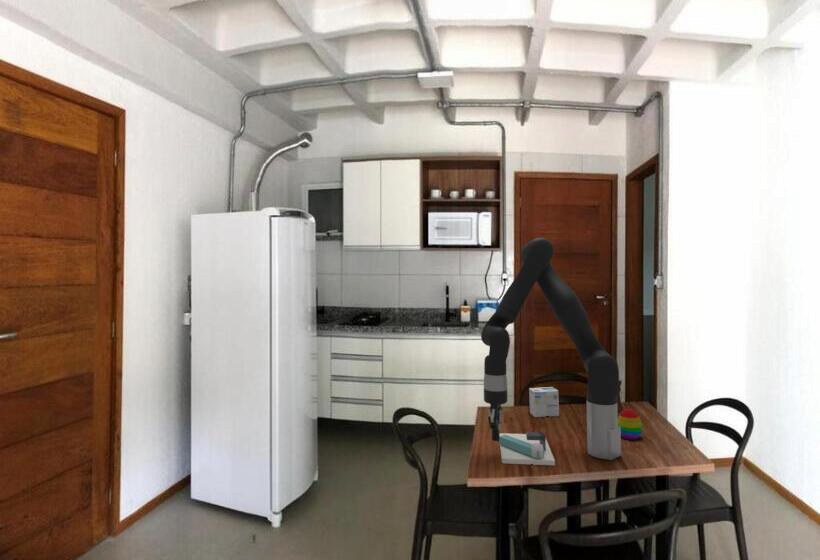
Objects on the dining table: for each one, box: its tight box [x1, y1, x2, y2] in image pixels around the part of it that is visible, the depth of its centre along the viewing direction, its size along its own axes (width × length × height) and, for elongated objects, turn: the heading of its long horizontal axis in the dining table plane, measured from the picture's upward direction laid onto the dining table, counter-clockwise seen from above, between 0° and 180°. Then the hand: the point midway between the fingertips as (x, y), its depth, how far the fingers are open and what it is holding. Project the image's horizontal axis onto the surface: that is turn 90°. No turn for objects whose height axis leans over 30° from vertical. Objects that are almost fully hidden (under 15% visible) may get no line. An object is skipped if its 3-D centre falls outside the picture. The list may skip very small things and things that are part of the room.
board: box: [499, 432, 556, 466], centre depth 147 cm, size 22×16×2 cm
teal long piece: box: [498, 435, 544, 459], centre depth 143 cm, size 16×4×4 cm, turn 36°
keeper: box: [525, 431, 547, 451], centre depth 144 cm, size 3×6×5 cm, turn 81°
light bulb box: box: [528, 386, 560, 418], centre depth 183 cm, size 11×7×11 cm, turn 94°
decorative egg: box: [618, 408, 643, 441], centre depth 156 cm, size 8×8×10 cm
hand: (495, 440), depth 142 cm, fingers closed
